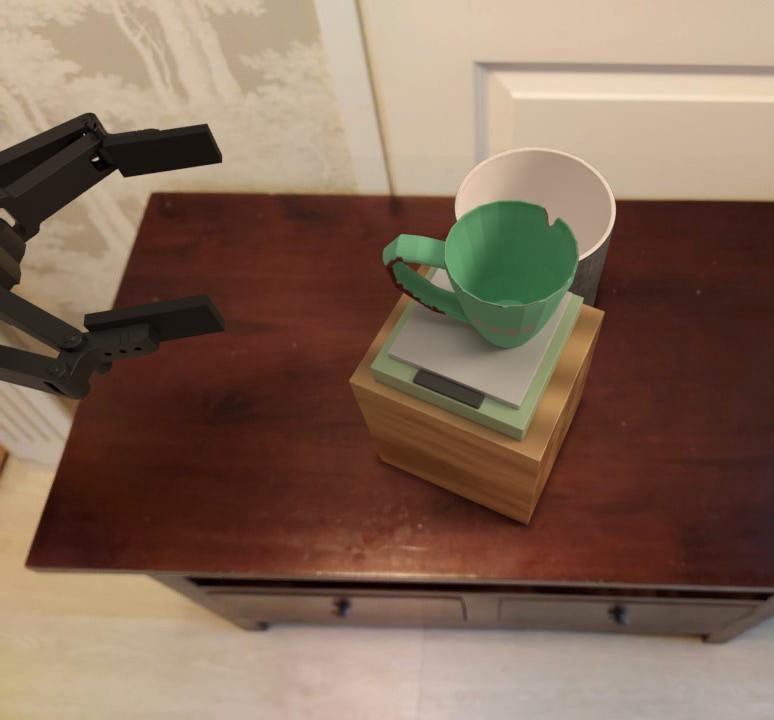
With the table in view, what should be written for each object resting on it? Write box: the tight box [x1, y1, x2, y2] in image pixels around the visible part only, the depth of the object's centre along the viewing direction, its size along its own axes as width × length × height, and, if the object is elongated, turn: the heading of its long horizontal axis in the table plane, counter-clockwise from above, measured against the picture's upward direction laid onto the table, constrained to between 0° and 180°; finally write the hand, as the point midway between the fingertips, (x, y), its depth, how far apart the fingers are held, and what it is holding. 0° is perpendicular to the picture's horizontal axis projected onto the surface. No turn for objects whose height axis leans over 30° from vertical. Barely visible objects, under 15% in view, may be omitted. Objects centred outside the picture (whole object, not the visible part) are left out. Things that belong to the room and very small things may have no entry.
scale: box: [370, 267, 584, 441], centre depth 57 cm, size 14×14×3 cm
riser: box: [348, 264, 606, 526], centre depth 67 cm, size 16×18×20 cm
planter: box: [454, 146, 617, 308], centre depth 79 cm, size 18×18×16 cm
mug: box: [382, 200, 579, 348], centre depth 52 cm, size 15×10×10 cm
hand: (216, 221), depth 40 cm, fingers open, 13 cm apart
